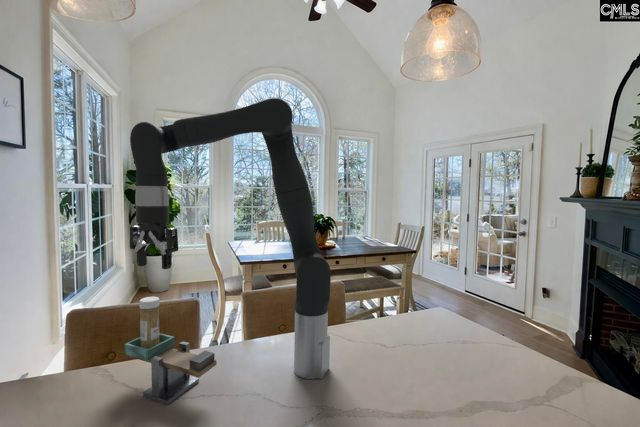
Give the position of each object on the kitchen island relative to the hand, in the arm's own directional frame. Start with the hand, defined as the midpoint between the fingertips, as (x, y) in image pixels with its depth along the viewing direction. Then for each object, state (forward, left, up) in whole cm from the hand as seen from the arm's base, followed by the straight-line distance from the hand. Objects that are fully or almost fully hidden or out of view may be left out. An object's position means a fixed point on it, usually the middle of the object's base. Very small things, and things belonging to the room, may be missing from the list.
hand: (154, 267), depth 82 cm
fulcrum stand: (-7, +1, -30) cm, 31 cm away
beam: (-7, +1, -22) cm, 23 cm away
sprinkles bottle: (+1, +1, -22) cm, 22 cm away
